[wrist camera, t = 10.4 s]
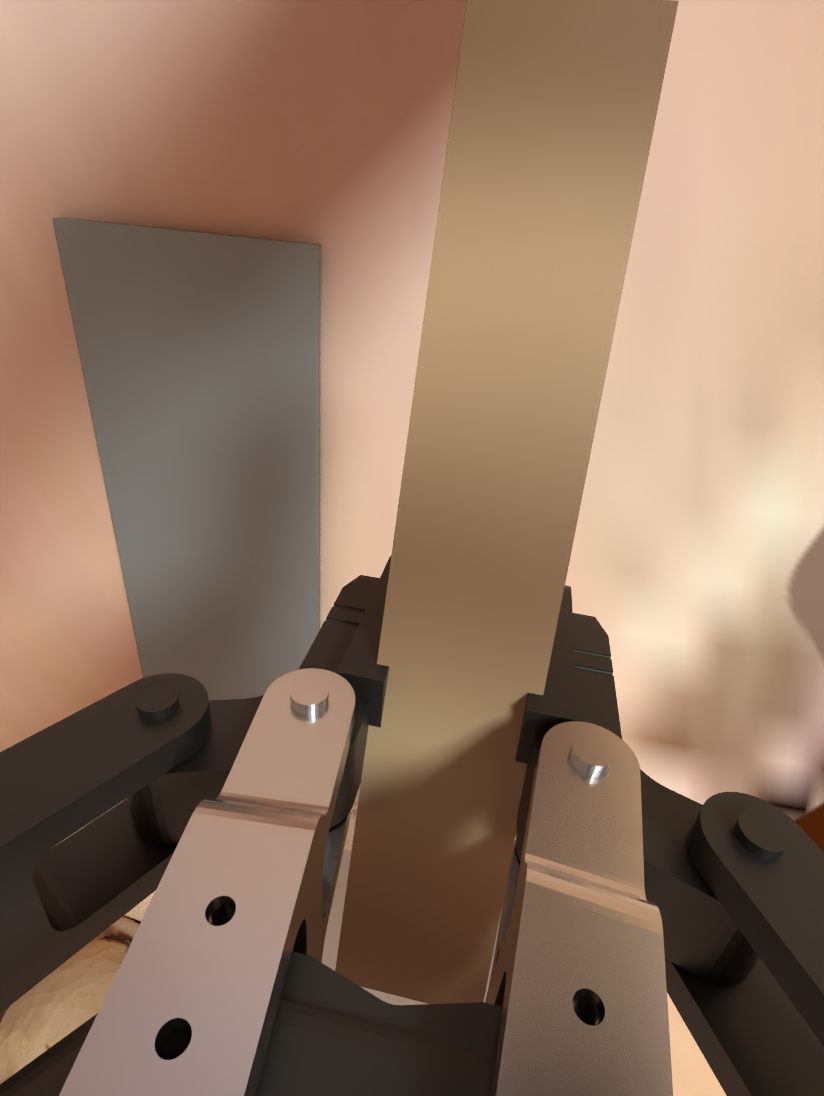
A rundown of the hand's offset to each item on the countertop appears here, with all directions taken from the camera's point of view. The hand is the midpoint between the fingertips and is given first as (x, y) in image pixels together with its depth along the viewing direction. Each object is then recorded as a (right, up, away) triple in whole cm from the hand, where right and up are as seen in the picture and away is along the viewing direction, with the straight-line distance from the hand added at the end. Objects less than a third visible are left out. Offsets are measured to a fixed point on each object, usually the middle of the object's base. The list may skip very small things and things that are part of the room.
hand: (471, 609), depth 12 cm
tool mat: (-12, +3, +21) cm, 25 cm away
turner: (0, -2, +1) cm, 3 cm away
